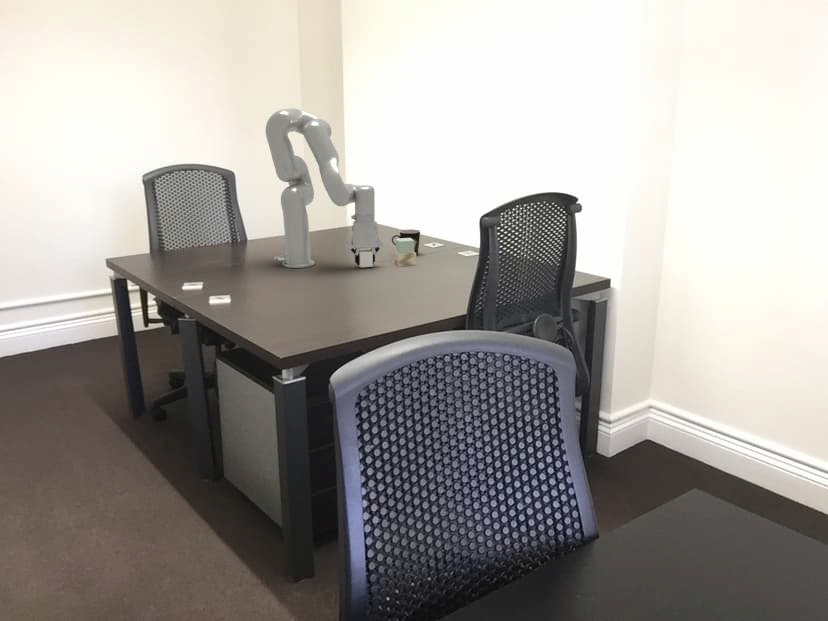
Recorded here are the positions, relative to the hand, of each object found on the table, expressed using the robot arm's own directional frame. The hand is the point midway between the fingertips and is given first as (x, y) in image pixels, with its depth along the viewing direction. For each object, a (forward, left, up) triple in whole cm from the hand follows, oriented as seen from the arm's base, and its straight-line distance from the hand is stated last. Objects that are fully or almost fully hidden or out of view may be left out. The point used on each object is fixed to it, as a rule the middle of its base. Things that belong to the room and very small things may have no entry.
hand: (365, 263), depth 285 cm
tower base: (+17, +1, -2) cm, 17 cm away
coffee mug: (+22, +17, -2) cm, 27 cm away
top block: (0, 0, -1) cm, 1 cm away
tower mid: (+17, +1, +3) cm, 17 cm away
